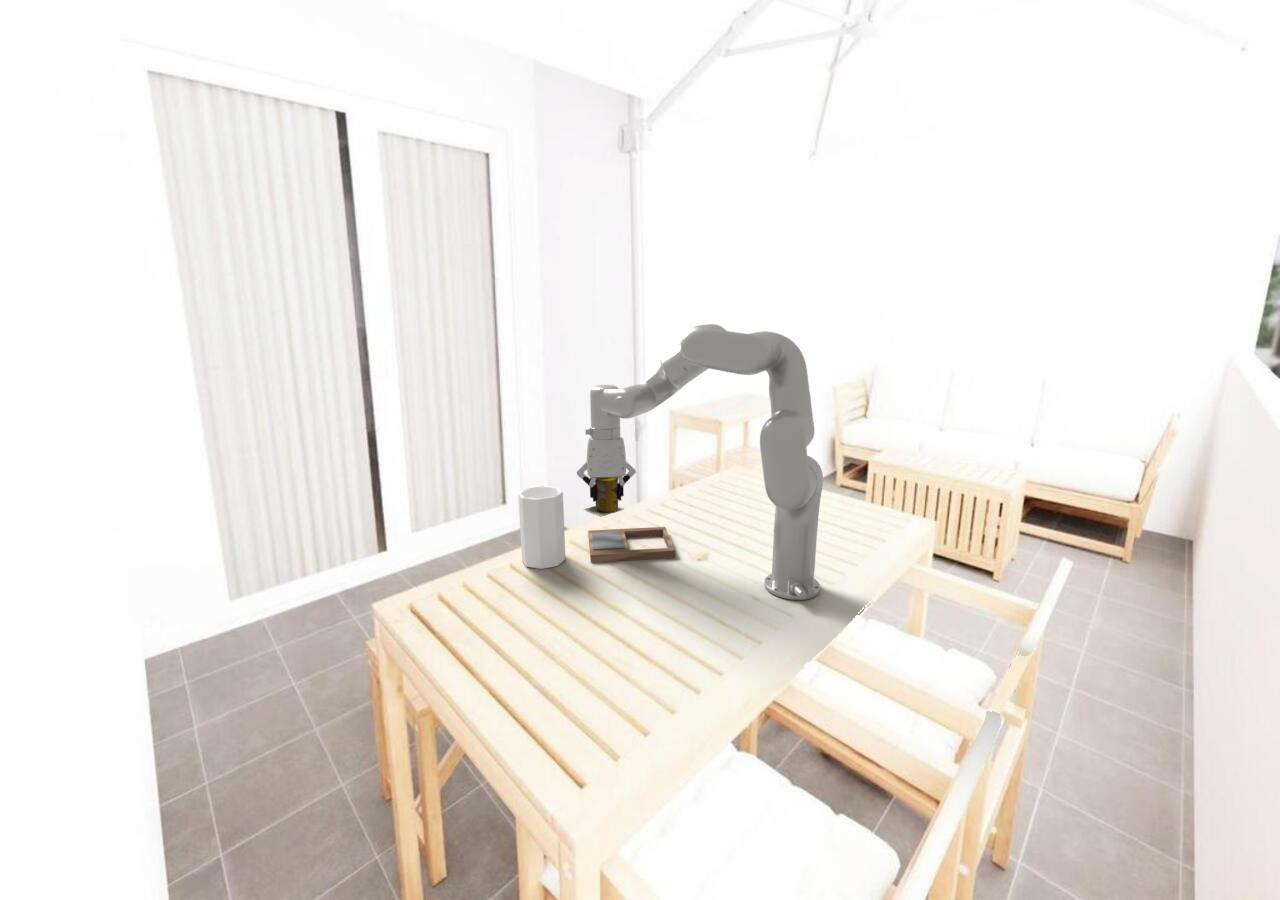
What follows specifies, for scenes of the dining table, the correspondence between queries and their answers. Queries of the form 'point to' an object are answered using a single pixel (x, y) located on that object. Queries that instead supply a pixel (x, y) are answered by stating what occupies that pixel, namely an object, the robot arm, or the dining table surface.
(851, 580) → the dining table surface
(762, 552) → the dining table surface
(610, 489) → the condiment
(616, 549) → the pocket board
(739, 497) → the dining table surface
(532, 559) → the cup
